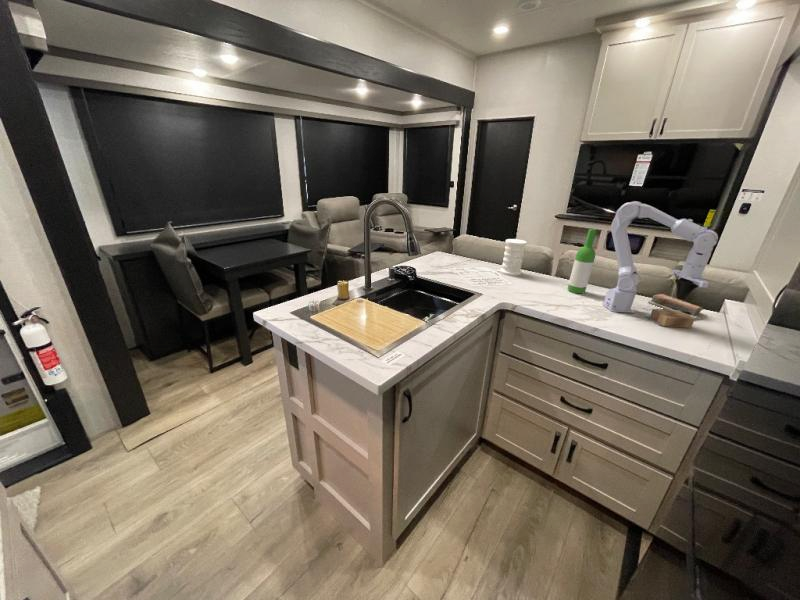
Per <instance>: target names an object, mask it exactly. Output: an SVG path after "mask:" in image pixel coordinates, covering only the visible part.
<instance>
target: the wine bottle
mask: <svg viewBox="0 0 800 600" xmlns="http://www.w3.org/2000/svg"><path fill="white" fill-rule="evenodd" d="M596 233H597V229H596V228H588V231H587V235H586V238H585V241H584V245H583V246H582V247H580V248H579V249H578V250H577V252H576V254H575V258H574V261H573V265H572V270H571V272H570V273H571V274H570V277H569V281H568V285H567V290H568V291H569V292H570V293H574V294H578V295H579V294H584V293H585V292H586V290H587V287H588V284H589V280H590V276H591V273H592V269H593V267H594V263H595V262H594V261H595V258H596V251H595V249H594V248H593V244H594V240H595V236H596Z"/></svg>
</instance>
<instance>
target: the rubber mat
mask: <svg viewBox="0 0 800 600" xmlns="http://www.w3.org/2000/svg"><path fill="white" fill-rule="evenodd" d="M646 319H649V320H650V321H651V322H653V323H654V324H656V325H657V326H659V327H664V326H663V325H661V324H660V323H658V322H657V321H655V320H654V319H652V318H651V317H650V315H646Z"/></svg>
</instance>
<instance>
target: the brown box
mask: <svg viewBox="0 0 800 600" xmlns="http://www.w3.org/2000/svg"><path fill="white" fill-rule="evenodd" d="M649 316H650V317H651V318H652V319H654V320H655V321H657V322H658V323H660V324H661V325H663V326H662V327H673V328H691V327H692V328H693V324H694V322H695V321H696V320H695V319H694V318H692V317H690V316H688V315H687V314H685V313H683V312H681V311H679V310H666V309H661V308H652V311H651V313H650V315H649ZM692 328H691V329H692Z"/></svg>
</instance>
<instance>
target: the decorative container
mask: <svg viewBox="0 0 800 600" xmlns="http://www.w3.org/2000/svg"><path fill="white" fill-rule="evenodd" d="M505 244H506V245H505V246H504V249H505V250H504V253H503V255H504V256H503V259H502V260H503V261H502V264H501V265H502V267H501V268H499V269H500V270H499V273H501V274H502V275H505V276H509V277H520V276H521V275H522V270H521V268H522V263H523V258H524V255H525V254H524V251H525V246H526V245H527V241H526V240H524V239H518V238H507V239H505Z"/></svg>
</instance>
